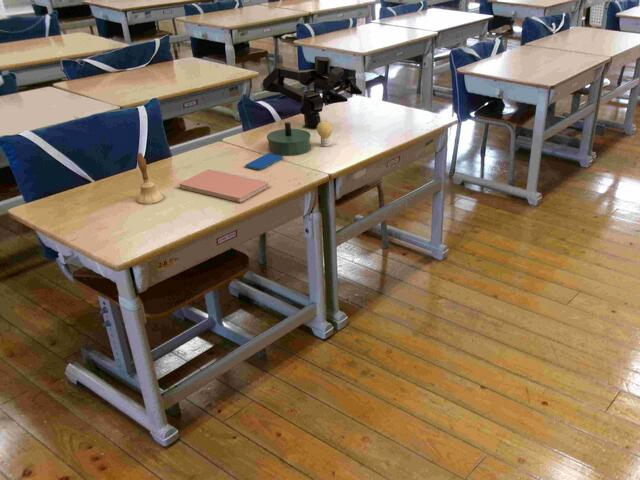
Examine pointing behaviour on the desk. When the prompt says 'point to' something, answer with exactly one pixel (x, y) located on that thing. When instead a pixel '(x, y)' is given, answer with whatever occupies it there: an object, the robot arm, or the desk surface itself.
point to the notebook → (224, 185)
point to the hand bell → (147, 185)
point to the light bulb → (324, 132)
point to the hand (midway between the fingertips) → (354, 96)
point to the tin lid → (288, 135)
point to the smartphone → (264, 161)
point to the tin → (289, 148)
